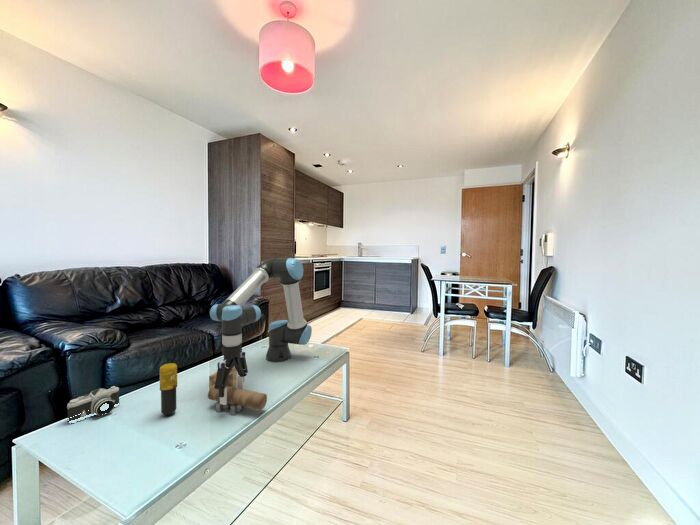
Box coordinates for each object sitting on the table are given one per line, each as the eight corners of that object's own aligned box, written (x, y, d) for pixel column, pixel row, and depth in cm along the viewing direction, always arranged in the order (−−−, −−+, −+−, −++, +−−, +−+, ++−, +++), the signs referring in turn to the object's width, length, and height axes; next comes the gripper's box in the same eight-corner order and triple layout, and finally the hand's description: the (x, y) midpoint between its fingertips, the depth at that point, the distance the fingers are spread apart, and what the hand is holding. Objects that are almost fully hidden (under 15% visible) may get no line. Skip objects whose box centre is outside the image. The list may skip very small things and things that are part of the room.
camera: (73, 429, 101) (72, 402, 101) (64, 422, 105) (63, 396, 105) (125, 408, 115) (125, 384, 114) (115, 402, 119) (115, 379, 119)
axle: (208, 402, 115) (207, 388, 114) (219, 394, 121) (218, 381, 120) (258, 413, 108) (257, 399, 107) (267, 404, 114) (266, 390, 113)
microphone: (151, 408, 115) (150, 361, 114) (181, 411, 113) (180, 362, 112) (139, 417, 109) (138, 366, 108) (170, 419, 107) (169, 368, 107)
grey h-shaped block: (230, 402, 120) (230, 393, 120) (247, 406, 117) (247, 396, 117) (216, 412, 112) (216, 403, 112) (234, 416, 110) (234, 406, 110)
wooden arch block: (209, 395, 126) (209, 375, 125) (228, 383, 137) (228, 365, 137) (218, 397, 124) (218, 377, 124) (236, 385, 136) (236, 367, 135)
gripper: (242, 335, 126) (242, 384, 126) (203, 352, 104) (203, 410, 105) (256, 337, 123) (256, 386, 124) (219, 354, 102) (219, 414, 103)
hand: (232, 397), depth 115 cm, fingers open, 9 cm apart
